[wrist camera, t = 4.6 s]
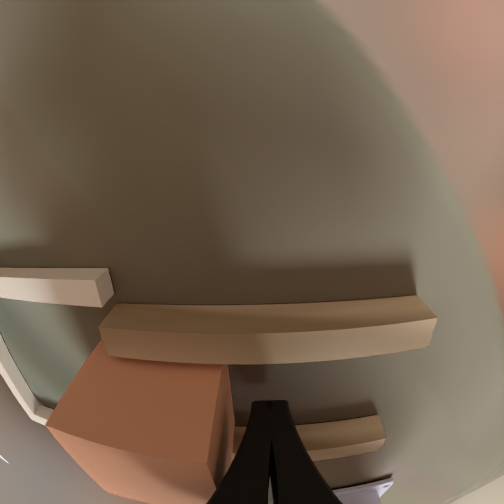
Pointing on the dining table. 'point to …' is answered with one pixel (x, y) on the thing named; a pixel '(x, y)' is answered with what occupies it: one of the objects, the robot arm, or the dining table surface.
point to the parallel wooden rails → (277, 346)
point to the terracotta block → (148, 427)
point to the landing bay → (48, 291)
